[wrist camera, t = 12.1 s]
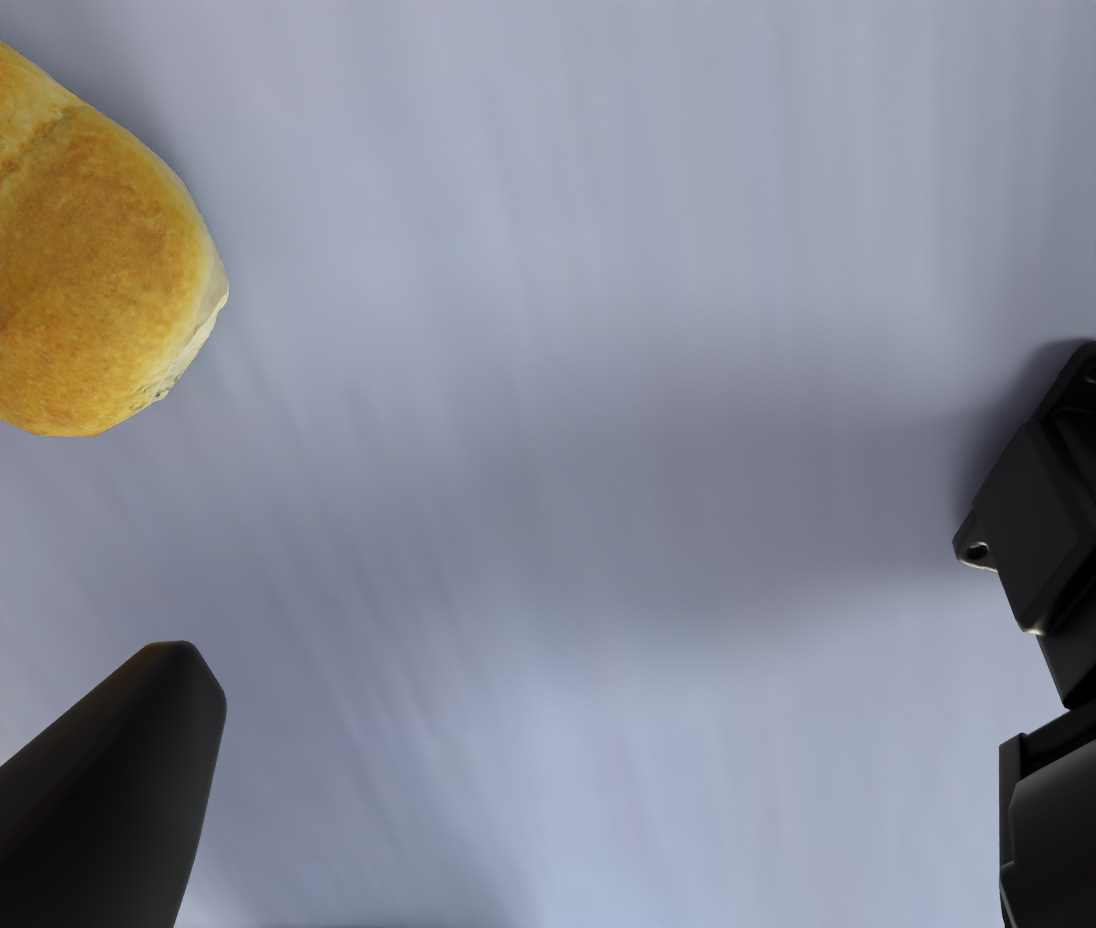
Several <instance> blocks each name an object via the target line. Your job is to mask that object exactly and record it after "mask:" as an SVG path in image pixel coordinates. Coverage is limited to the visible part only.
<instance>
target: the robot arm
mask: <svg viewBox="0 0 1096 928" xmlns="http://www.w3.org/2000/svg"><path fill="white" fill-rule="evenodd" d="M1094 363H1096V341H1095V342H1091V343H1087V344H1085V345H1084V346H1082V347H1080V348H1079V349H1078V350H1077V351H1076V352H1075V353H1074V354H1073V355H1072V356H1071V358H1070V359H1069V361H1068V362H1067V364H1066V366H1065V367H1064V369H1063V370H1062V372H1061V373H1060V375H1059V376H1058V378H1057V379H1056V381H1055V382H1054V384H1053V386H1052V387H1051V389H1050V390H1049V392H1048V393H1047V395H1046V396H1045V398H1044V399H1043V401H1042V402H1041V404H1040V406H1039V407H1038V409H1037V410H1036V412H1035V413H1034V415H1033V416H1032V418H1031V419H1030V420H1029V421H1027V422H1026V423H1024V424H1023V425H1022V426H1021V427H1020V428H1019V430H1018V431H1017V433H1016V434H1015V436H1014V437H1013V439H1012V441H1011V442H1010V444H1009V445H1008V447H1007V448H1006V450H1005V451H1004V453H1003V454H1002V456H1001V458H1000V459H999V461H998V462H997V464H996V465H995V467H994V468H993V470H992V471H991V473H990V475H989V476H988V478H987V479H986V481H985V482H984V484H983V485H982V487H981V488H980V490H979V492H978V493H977V495H976V496H975V498H974V499H973V501H972V506H973V508H972V510H971V512H970V513H969V515H968V516H967V518H966V519H965V521H964V522H963V524H962V525H961V527H960V528H959V530H958V532H957V533H956V535H955V536H954V539H953V541H952V544H953V548H954V551H955V554H956V557H957V559H958V560H959V561H960V562H961V563H962V564H965V565H967V566H972V567H976V568H980V569H985V570H989V571H994V572H998V575H999V577H1000V580H1001V582H1002V585H1003V588H1004V590H1005V593H1006V596H1007V598H1008V601H1009V604H1010V606H1011V609H1012V612H1013V614H1014V617H1015V619H1016V621H1017V623H1018V625H1019V627H1020V628H1021V630H1022V631H1023V632H1028V633H1032V634H1035V635H1036V637H1037V640H1038V642H1039V645H1040V648H1041V650H1042V653H1043V655H1044V658H1045V660H1046V663H1047V665H1048V668H1049V670H1050V673H1051V675H1052V678H1053V681H1054V683H1055V686H1056V688H1057V691H1058V693H1059V696H1060V698H1061V701H1062V703H1063V705H1064V707H1065V708H1067V709H1069V710H1070V711H1068V712H1067V713H1065V714H1063V715H1061V716H1060V717H1058V718H1056V719H1054V720H1053V721H1051V722H1049V723H1047V724H1046V725H1044V726H1042V727H1040V728H1039V729H1037V730H1035V731H1033V732H1032V733H1030V734H1028V735H1027V734H1025V733H1020V734H1018V735H1016V736H1015V737H1013V738H1011V739H1009V740H1008V741H1006V742H1004V743H1002V744H1001V745H1000V746H999V838H1000V872H999V889H1000V900H1001V909H1002V917H1003V920H1004V924H1005V928H1096V370H1094V371H1088V369H1089V367H1090V366H1091V365H1092V364H1094ZM976 544H981V545H980V546H979V547H976V548H969V547H970V546H973V545H976ZM226 711H227V705H226V698H225V694H224V691H223V689H222V687H221V686H220V684H219V683H218V681H217V679H216V678H215V676H214V675H213V673H212V671H211V670H210V668H209V667H208V665H207V663H206V662H205V660H204V659H203V657H202V655H201V654H200V652H199V651H198V649H197V648H196V647H195V645H193V644H192V643H190V642H188V641H183V640H182V641H166V642H154V643H151V644H148V645H146V646H145V647H143V648H142V649H141V650H139V651H138V652H137V653H136V654H135V655H133V656H132V657H131V658H130V659H129V660H127V661H126V662H125V663H124V664H123V665H121V666H120V667H119V668H118V669H117V670H115V671H114V672H113V673H112V674H111V675H110V676H108V677H107V678H106V679H105V680H104V681H102V682H101V683H100V684H99V685H98V686H96V687H95V688H94V689H93V690H92V691H90V692H89V693H88V694H87V695H86V696H84V697H83V698H82V699H81V700H80V701H78V702H77V703H76V704H75V705H74V706H72V707H71V708H70V709H69V710H68V711H67V712H65V713H64V714H63V715H62V716H61V717H59V718H58V719H57V720H56V721H55V722H53V723H52V724H51V725H50V726H49V727H47V728H46V729H45V730H44V731H43V732H41V733H40V734H39V735H38V736H37V737H35V738H34V739H33V740H32V741H31V742H30V743H28V744H27V745H26V746H25V747H24V748H22V749H21V750H20V751H19V752H18V753H16V754H15V755H14V756H13V757H12V758H10V759H9V760H8V761H7V762H6V763H4V764H3V765H2V766H1V767H0V928H173V927H174V924H175V921H176V918H177V914H178V911H179V908H180V905H181V902H182V899H183V896H184V893H185V890H186V887H187V883H188V880H189V877H190V873H191V870H192V866H193V863H194V860H195V856H196V852H197V848H198V844H199V840H200V836H201V831H202V826H203V822H204V817H205V812H206V808H207V803H208V798H209V794H210V789H211V784H212V780H213V775H214V770H215V766H216V761H217V756H218V752H219V747H220V742H221V738H222V733H223V728H224V724H225V719H226Z"/></svg>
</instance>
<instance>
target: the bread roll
mask: <svg viewBox="0 0 1096 928" xmlns="http://www.w3.org/2000/svg"><path fill="white" fill-rule="evenodd" d="M228 294H229V281H228V277H227V274H226V270H225V267H224V265H223V262H222V259H221V257H220V255H219V253H218V250H217V248H216V246H215V244H214V242H213V240H212V238H211V236H210V233H209V231H208V228H207V226H206V224H205V222H204V220H203V218H202V215H201V213H200V212H199V210H198V208H197V206H196V204H195V202H194V200H193V198H192V196H191V195H190V193H189V191H188V189H187V188H186V186H185V185H184V183H183V182H182V180H181V179H180V177H179V176H178V175H177V174H176V173H175V172H174V171H173V170H172V169H171V168H170V167H169V166H168V165H167V163H166V162H165V161H164V160H162V159H161V158H160V157H159V156H158V155H156V154H155V153H154V152H153V151H152V150H151V149H149V148H148V147H147V146H146V145H145V144H144V143H143V142H141V141H140V140H139V139H138V138H137V137H135V136H134V135H133V134H132V133H131V132H130V131H128V130H127V129H125V128H124V127H123V126H121V125H120V124H118V123H117V122H115V121H114V120H112V119H110V118H109V117H107V116H105V115H104V114H102V113H101V112H100V111H99V110H97V109H96V108H95V107H94V106H92V105H90V104H88V103H86V102H84V101H82V100H81V99H80V98H78V97H77V96H76V95H75V94H73V93H72V92H70V91H68V90H67V89H65V88H64V87H63V86H62V85H61V84H60V83H58V82H57V81H56V80H55V79H54V78H53V77H52V76H51V75H50V74H48V73H47V72H46V71H44V70H43V69H42V68H40V67H39V66H38V65H36V64H35V63H34V62H32V61H31V60H29V59H28V58H26V57H24V56H23V55H21V54H20V53H19V52H17V51H16V50H15V49H14V48H12V47H11V46H10V45H8V44H7V43H5V42H3V41H2V40H0V419H1V420H3V421H5V422H7V423H9V424H12V425H14V426H16V427H19V428H21V429H23V430H25V431H27V432H29V433H32V434H34V435H44V436H61V437H72V436H88V437H91V436H96V435H98V434H100V433H102V432H104V431H107V430H109V429H110V428H111V427H113V426H115V425H117V424H119V423H120V422H122V421H124V420H126V419H128V418H129V417H131V416H133V415H134V414H136V413H138V412H139V411H141V410H142V409H145V408H146V406H149V405H150V404H151V403H153V402H154V401H159V400H163V399H164V397H165V396H166V395H167V394H168V392H169V390H170V389H171V388H172V387H173V386H174V384H175V383H176V382H177V380H178V379H179V378H180V377H181V375H182V374H183V372H184V371H185V370H186V368H187V367H188V366H189V364H190V363H191V362H192V360H193V359H194V358H195V357H196V355H197V354H198V352H199V351H200V349H201V347H202V345H203V344H204V342H205V340H206V339H207V338H208V337H209V333H210V332H211V330H212V329H213V327H214V325H215V322H216V318H217V314H218V311H219V310H220V309H221V308H222V307H223V306H224V304H225V303H226V302H227V299H228Z"/></svg>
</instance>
